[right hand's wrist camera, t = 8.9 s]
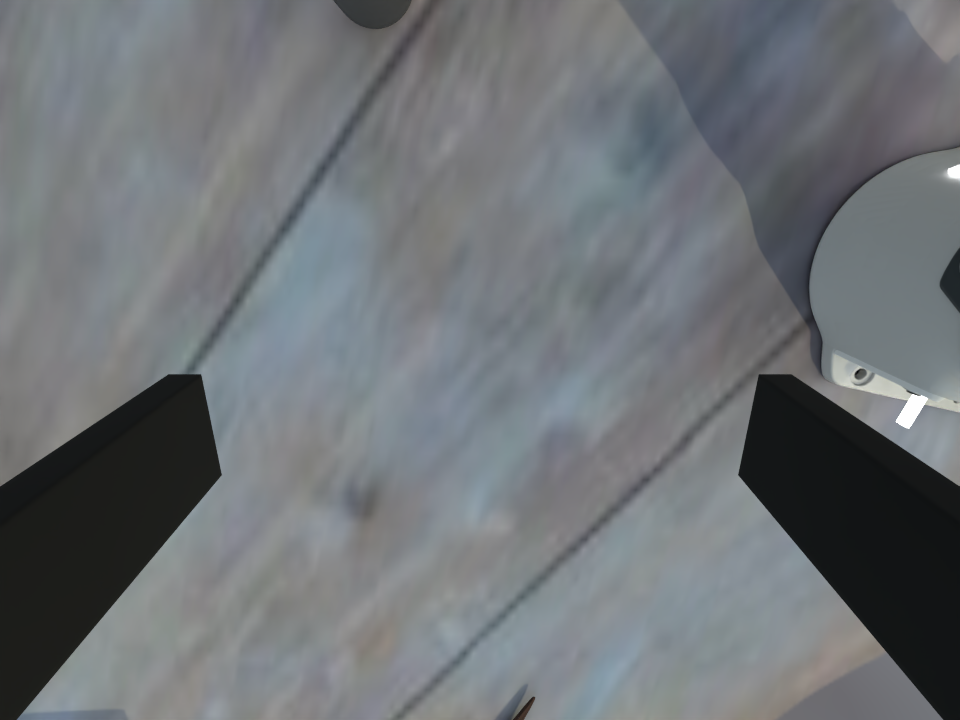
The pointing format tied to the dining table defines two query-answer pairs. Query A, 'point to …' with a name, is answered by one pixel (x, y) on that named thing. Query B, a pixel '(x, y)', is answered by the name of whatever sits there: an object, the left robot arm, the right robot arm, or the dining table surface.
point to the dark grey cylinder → (374, 11)
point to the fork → (525, 710)
